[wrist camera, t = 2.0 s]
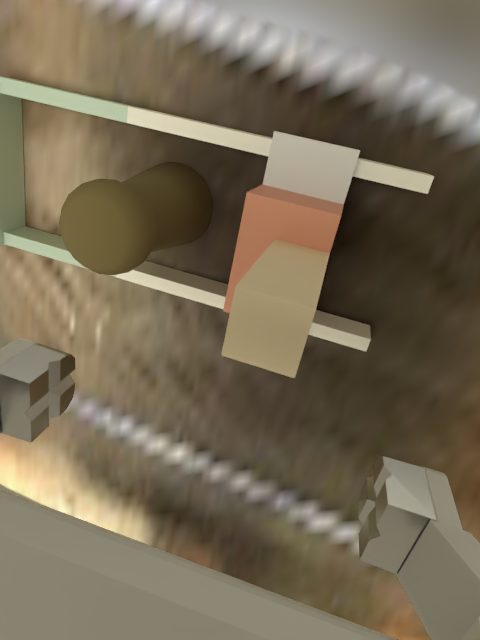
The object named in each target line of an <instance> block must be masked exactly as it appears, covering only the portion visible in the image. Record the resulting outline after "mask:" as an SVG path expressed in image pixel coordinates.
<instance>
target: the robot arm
mask: <svg viewBox="0 0 480 640" xmlns="http://www.w3.org/2000/svg"><path fill="white" fill-rule="evenodd" d="M74 370H75V358H74V357H73V356H72V355H71V354H68V353H65V352H62V351H60V350H57V349H54V348H51V347H48V346H45V345H42V344H38V343H36V342H33V341H30V340H27V339H24V338H19V339H16V340H14V341H12V342H11V343H9V344H7V345H6V346H4V347H2V348H1V349H0V433H3V434H6V435H9V436H12V437H16V438H19V439H22V440H25V441H28V442H32V441H33V440H34V439H36V438H37V437H38V436H39V435H40V434H41V433H42V432H43V431H44V430H45V429H46V428H47V427H48V426H49V419H50V418H53V417H56V416H60V415H61V414H62V413H63V412H64V411H65V410H66V409H67V407H68V405H69V404H70V402H71V400H72V398H73V394H74V390H75V382H74V380H73V379H72V377H71V375H70V373H71V372H72V371H74ZM358 516H359V520H360V521H361V523H362V524H363V527H362V529H361V531H360V533H359V554H360V560H361V561H364V562H367V563H369V564H372V565H374V566H377V567H380V568H382V569H385V570H387V571H390V572H393V573H395V574H398V575H397V578H398V579H399V581H400V583H401V585H402V587H403V589H404V590H405V592H406V594H407V596H408V598H409V600H410V602H411V603H412V605H413V607H414V609H415V611H416V613H417V614H418V616H419V618H420V620H421V622H422V624H423V626H424V627H425V629H426V631H427V633H428V635H429V637H430V638H431V640H480V543H479V542H478V541H477V540H476V539H475V538H474V537H473V536H472V535H471V533H469V532H467V531H464V530H463V529H462V525H461V522H460V519H459V515H458V512H457V509H456V505H455V502H454V498H453V495H452V492H451V488H450V485H449V482H448V478H447V476H446V475H445V474H444V473H443V472H439V471H436V470H432V469H429V468H426V467H420V466H417V465H414V464H410V463H407V462H404V461H401V460H398V459H395V458H391V457H388V456H385V455H382V454H379V455H378V457H377V458H376V460H375V462H374V464H373V476H372V477H370V478H368V479H366V481H365V484H364V486H363V488H362V492H361V496H360V500H359V509H358ZM0 640H398V639H396V638H393V637H390V636H388V635H385V634H382V633H380V632H377V631H374V630H372V629H369V628H366V627H364V626H361V625H359V624H356V623H353V622H351V621H348V620H345V619H343V618H340V617H337V616H335V615H332V614H329V613H327V612H324V611H321V610H319V609H316V608H313V607H311V606H308V605H305V604H303V603H300V602H298V601H295V600H292V599H290V598H287V597H284V596H282V595H279V594H276V593H274V592H271V591H268V590H266V589H263V588H261V587H258V586H255V585H253V584H250V583H247V582H245V581H242V580H239V579H237V578H234V577H231V576H229V575H226V574H224V573H221V572H218V571H216V570H213V569H210V568H208V567H205V566H202V565H200V564H197V563H194V562H192V561H189V560H187V559H184V558H181V557H179V556H176V555H173V554H171V553H168V552H165V551H163V550H160V549H157V548H155V547H152V546H149V545H147V544H144V543H142V542H139V541H136V540H134V539H131V538H128V537H126V536H123V535H120V534H118V533H115V532H112V531H110V530H107V529H104V528H102V527H99V526H96V525H94V524H91V523H88V522H86V521H83V520H81V519H78V518H75V517H73V516H70V515H67V514H65V513H62V512H59V511H57V510H54V509H51V508H49V507H46V506H43V505H41V504H38V503H35V502H33V501H30V500H28V499H25V498H22V497H20V496H16V495H14V494H11V493H9V492H6V491H4V490H1V489H0Z"/></svg>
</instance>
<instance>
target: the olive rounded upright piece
mask: <svg viewBox="0 0 480 640" xmlns="http://www.w3.org/2000/svg"><path fill="white" fill-rule="evenodd" d="M211 217H212V199H211V195H210V191H209V188H208V187H207V185H206V183H205V182H204V180H203V178H202V177H201V176H200V175H199V174H198V173H197V172H196V171H194V170H193V169H192V168H190V167H188V166H186V165H184V164H181V163H174V162H166V163H163V164H160V165H156V166H154V167H152V168H150V169H148V170H146V171H144V172H142V173H140V174H138V175H136V176H134V177H132V178H130V179H128V180H126V181H124V182H120V181H117V180H109V179H96V180H93V181H89V182H86V183H83V184H81V185H80V186H79V187H77V188H76V189H75V190H74V191H73V192H71V193H70V194H69V195H68V197H67V199H66V201H65V202H64V204H63V206H62V210H61V215H60V222H59V223H60V231H61V236H62V239H63V241H64V244H65V246H66V248H67V249H68V251H69V252H70V254H71V255H72V256H73V258H74V259H75V260H77V261H78V262H79V263H80V264H81V265H82V266H84V267H86V268H88V269H90V270H92V271H94V272H96V273H98V274H105V275H118V274H122V273H127V272H130V271H131V270H133V269H134V268H136V267H137V266H139V265H141V264H142V263H143V262H144V261H145V260H146V258H147V257H148V255H149V254H150V253H151V252H153V251H157V250H161V249H165V248H169V247H173V246H177V245H181V244H185V243H189V242H192V241H194V240H195V239H197V238H199V237H200V236H201V235H202V234H203V233H204V231H205V230H206V229H207V227H208V225H209V222H210V219H211Z"/></svg>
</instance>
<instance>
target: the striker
mask: <svg viewBox="0 0 480 640" xmlns="http://www.w3.org/2000/svg"><path fill="white" fill-rule="evenodd" d="M359 153H360V150H357V149H352V148H348V147H344V146H339V145H335V144H330V143H326V142H322V141H317V140H313V139H308V138H304V137H299V136H295V135H291V134H286V133H282V132H277V131H274V134H273V138H272V143H271V148H270V152H269V157H268V162H267V166H266V171H265V175H264V180H263V185H260V186H258V187H256V188H254V189H252V190H250V191H248V192H247V194H246V199H245V204H244V209H243V214H242V219H241V224H240V229H239V234H238V239H237V244H236V249H235V254H234V259H233V264H232V269H231V274H230V279H229V284H228V289H227V294H226V299H225V304H224V309H223V311H224V312H227V313H230V316H229V320H228V325H227V330H226V335H225V340H224V344H223V349H222V354H221V355H222V356H225V357H228V358H231V359H235V360H238V361H241V362H244V363H247V364H250V365H254V366H257V367H260V368H263V369H266V370H270V371H273V372H276V373H279V374H282V375H285V376H289V377H292V378H295V376H296V372H297V369H298V366H299V363H300V359H301V356H302V353H303V350H304V347H305V343H306V340H307V337H308V334H309V331H310V327H311V324H312V321H313V318H314V314H315V311H316V308H317V304H318V300H319V295H320V291H321V287H322V283H323V279H324V275H325V271H326V267H327V263H328V259H329V255H330V251H331V248H332V245H333V241H334V238H335V235H336V232H337V228H338V225H339V222H340V219H341V215H342V211H343V206H344V202H345V199H346V196H347V192H348V189H349V186H350V183H351V179H352V176H353V173H354V170H355V166H356V163H357V160H358V156H359Z"/></svg>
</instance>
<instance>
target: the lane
mask: <svg viewBox="0 0 480 640" xmlns="http://www.w3.org/2000/svg"><path fill="white" fill-rule="evenodd" d="M22 98H23V99H28V100H32V101H36V102H40V103H44V104H49V105H53V106H57V107H61V108H66V109H70V110H74V111H78V112H82V113H87V114H91V115H95V116H99V117H104V118H108V119H112V120H116V121H121V122H125V123H129V124H133V125H137V126H142V127H146V128H150V129H154V130H159V131H163V132H167V133H171V134H176V135H180V136H184V137H188V138H192V139H197V140H201V141H205V142H209V143H214V144H218V145H222V146H226V147H230V148H235V149H239V150H243V151H247V152H252V153H256V154H260V155H264V156H269V152H270V148H271V143H272V138H271V137H267V136H263V135H258V134H254V133H249V132H245V131H241V130H236V129H232V128H228V127H223V126H219V125H215V124H210V123H206V122H201V121H197V120H193V119H188V118H184V117H180V116H175V115H171V114H167V113H162V112H158V111H153V110H149V109H145V108H140V107H136V106H132V105H127V104H123V103H119V102H114V101H110V100H106V99H101V98H97V97H92V96H88V95H84V94H79V93H75V92H71V91H66V90H62V89H58V88H53V87H49V86H44V85H40V84H36V83H31V82H27V81H23V80H18V79H14V78H10V77H4V76H0V245H3V244H6V245H9V246H12V247H16V248H19V249H22V250H26V251H29V252H33V253H36V254H39V255H43V256H46V257H49V258H53V259H56V260H59V261H63V262H66V263H70V264H73V265H76V266H80V267H83V268H86V267H84V266H82V265H81V264H80V263H79V262H78V261H77V260H75V259H74V258H73V256H72V255H71V254H70V252H69V251H68V249H67V248H66V246H65V244H64V241H63V239H62V236H58V235H55V234H51V233H48V232H44V231H41V230H37V229H34V228H30V227H27V226H26V216H25V184H24V153H23V122H22ZM353 177H357V178H362V179H366V180H370V181H374V182H378V183H383V184H387V185H391V186H395V187H400V188H404V189H408V190H412V191H417V192H421V193H425V194H428V192H429V189H430V187H431V184H432V182H433V179H434V176H432V175H430V174H428V173H424V172H420V171H415V170H411V169H406V168H402V167H398V166H393V165H389V164H385V163H380V162H376V161H372V160H367V159H363V158H358V160H357V163H356V166H355V170H354V173H353ZM86 269H88V268H86ZM110 276H113V277H117V278H120V279H123V280H127V281H130V282H133V283H137V284H140V285H143V286H147V287H150V288H154V289H157V290H160V291H164V292H167V293H170V294H174V295H177V296H180V297H184V298H187V299H191V300H194V301H197V302H201V303H204V304H207V305H211V306H214V307H217V308H221V309H224V304H225V299H226V294H227V289H228V284H225V283H221V282H218V281H214V280H211V279H208V278H204V277H201V276H197V275H194V274H190V273H187V272H183V271H180V270H176V269H173V268H169V267H166V266H162V265H159V264H155V263H152V262H148V261H144V262H143V263H142V264H141V265H139V266H137V267H136V268H134V269H133V270H131V271H130V272H127V273H122V274H118V275H110ZM308 335H312V336H315V337H318V338H322V339H325V340H328V341H332V342H335V343H338V344H342V345H345V346H349V347H352V348H355V349H359V350H362V351H365V352H366V351H367V348H368V346H369V343H370V341H371V334H370V325H367V324H364V323H360V322H357V321H354V320H350V319H347V318H343V317H340V316H336V315H333V314H329V313H326V312H322V311H319V310H316V311H315V314H314V318H313V321H312V324H311V327H310V331H309V334H308Z"/></svg>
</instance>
